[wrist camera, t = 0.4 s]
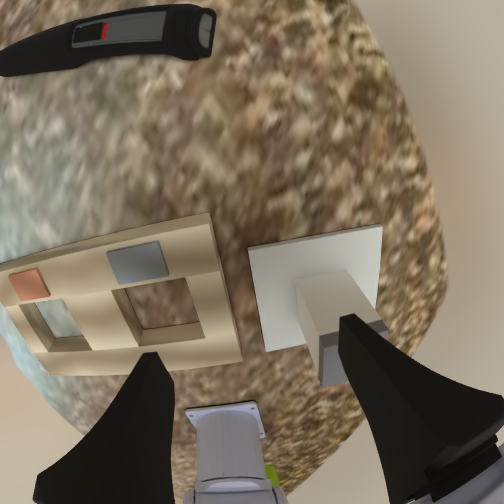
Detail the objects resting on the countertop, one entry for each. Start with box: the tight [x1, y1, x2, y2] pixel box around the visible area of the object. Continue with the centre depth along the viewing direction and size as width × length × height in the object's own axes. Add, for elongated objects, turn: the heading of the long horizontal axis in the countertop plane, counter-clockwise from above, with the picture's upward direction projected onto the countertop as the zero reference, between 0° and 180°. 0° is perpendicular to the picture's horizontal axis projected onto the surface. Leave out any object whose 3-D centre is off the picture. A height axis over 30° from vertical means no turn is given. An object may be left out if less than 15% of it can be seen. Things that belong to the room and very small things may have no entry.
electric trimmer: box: [0, 4, 216, 77], centre depth 11 cm, size 4×16×3 cm, turn 83°
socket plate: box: [0, 212, 243, 376], centre depth 20 cm, size 12×20×2 cm, turn 98°
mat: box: [248, 224, 382, 352], centre depth 22 cm, size 10×10×1 cm
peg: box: [295, 269, 388, 388], centre depth 19 cm, size 4×4×7 cm
